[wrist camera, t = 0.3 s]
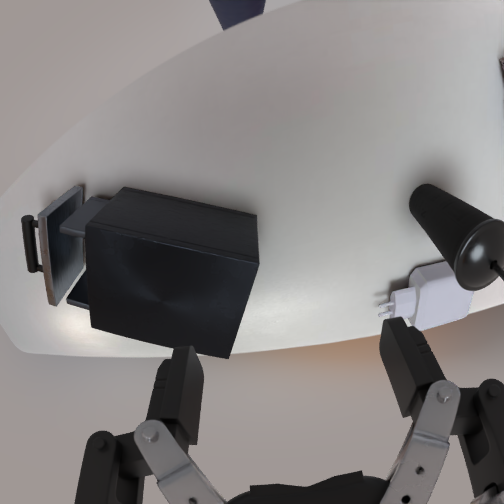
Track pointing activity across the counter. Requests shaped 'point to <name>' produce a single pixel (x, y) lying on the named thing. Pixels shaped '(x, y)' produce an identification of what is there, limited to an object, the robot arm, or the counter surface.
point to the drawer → (61, 245)
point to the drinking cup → (461, 236)
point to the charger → (430, 298)
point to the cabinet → (170, 270)
